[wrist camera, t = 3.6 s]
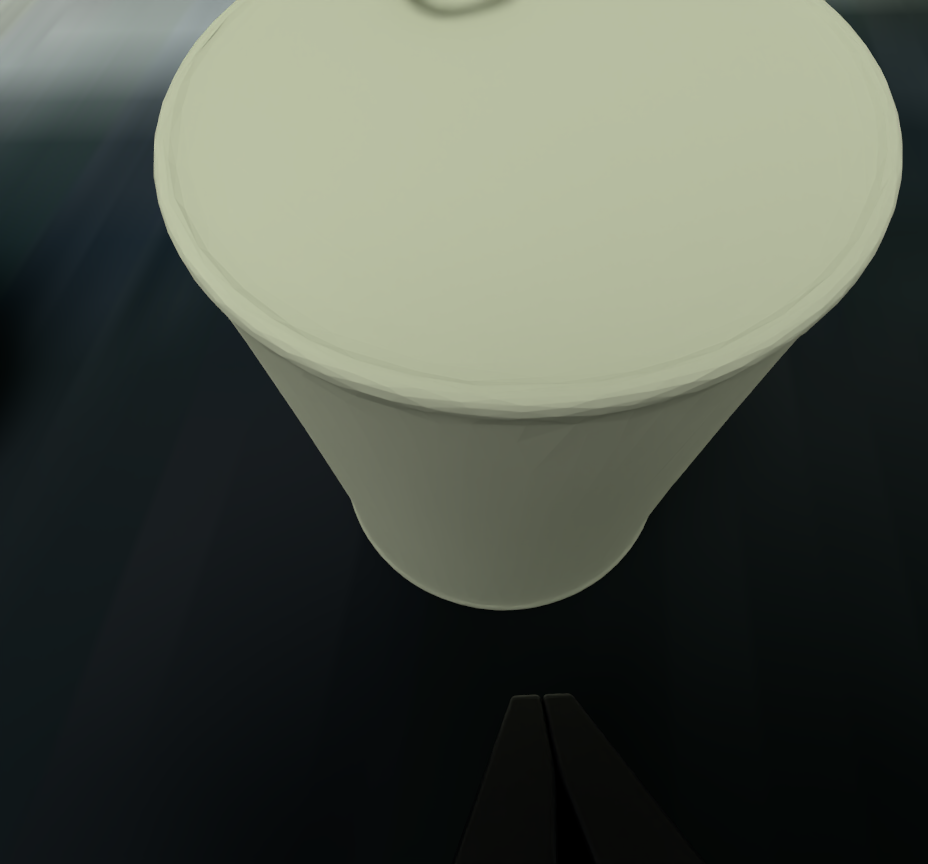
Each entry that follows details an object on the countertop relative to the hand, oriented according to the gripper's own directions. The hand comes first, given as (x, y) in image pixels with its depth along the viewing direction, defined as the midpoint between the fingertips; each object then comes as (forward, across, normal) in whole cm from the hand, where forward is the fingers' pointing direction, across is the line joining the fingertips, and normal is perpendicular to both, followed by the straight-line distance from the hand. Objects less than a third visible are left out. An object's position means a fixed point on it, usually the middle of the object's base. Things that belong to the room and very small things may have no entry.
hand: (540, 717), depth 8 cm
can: (+10, 0, 0) cm, 10 cm away
